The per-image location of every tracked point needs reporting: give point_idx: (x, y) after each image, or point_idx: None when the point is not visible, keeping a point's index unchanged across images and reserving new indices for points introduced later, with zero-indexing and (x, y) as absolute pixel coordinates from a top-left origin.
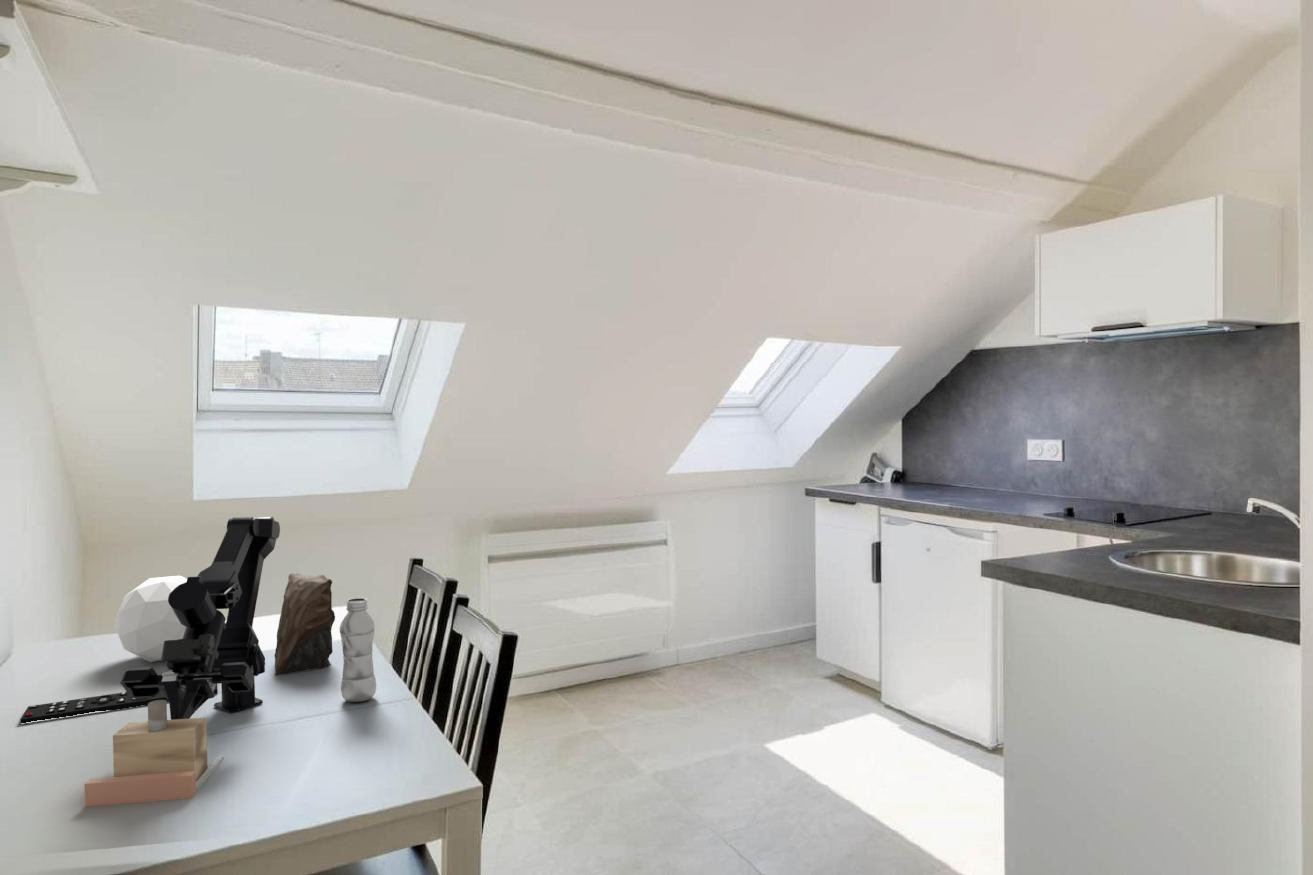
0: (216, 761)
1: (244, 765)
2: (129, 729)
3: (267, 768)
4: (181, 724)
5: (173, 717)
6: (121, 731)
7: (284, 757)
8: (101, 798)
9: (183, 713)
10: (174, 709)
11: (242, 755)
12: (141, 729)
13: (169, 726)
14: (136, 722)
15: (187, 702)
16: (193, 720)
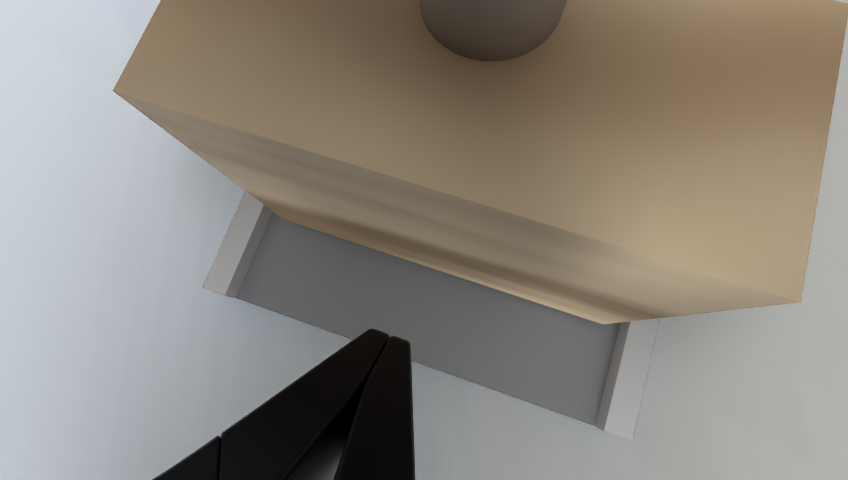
0: (238, 232)
1: (155, 266)
2: (738, 88)
3: (85, 190)
4: (310, 16)
5: (387, 401)
6: (800, 72)
7: (2, 270)
8: None
9: (290, 392)
10: (366, 465)
11: (143, 391)
12: (627, 42)
13: (402, 10)
14: (718, 261)
15: (194, 477)
16: (214, 62)
